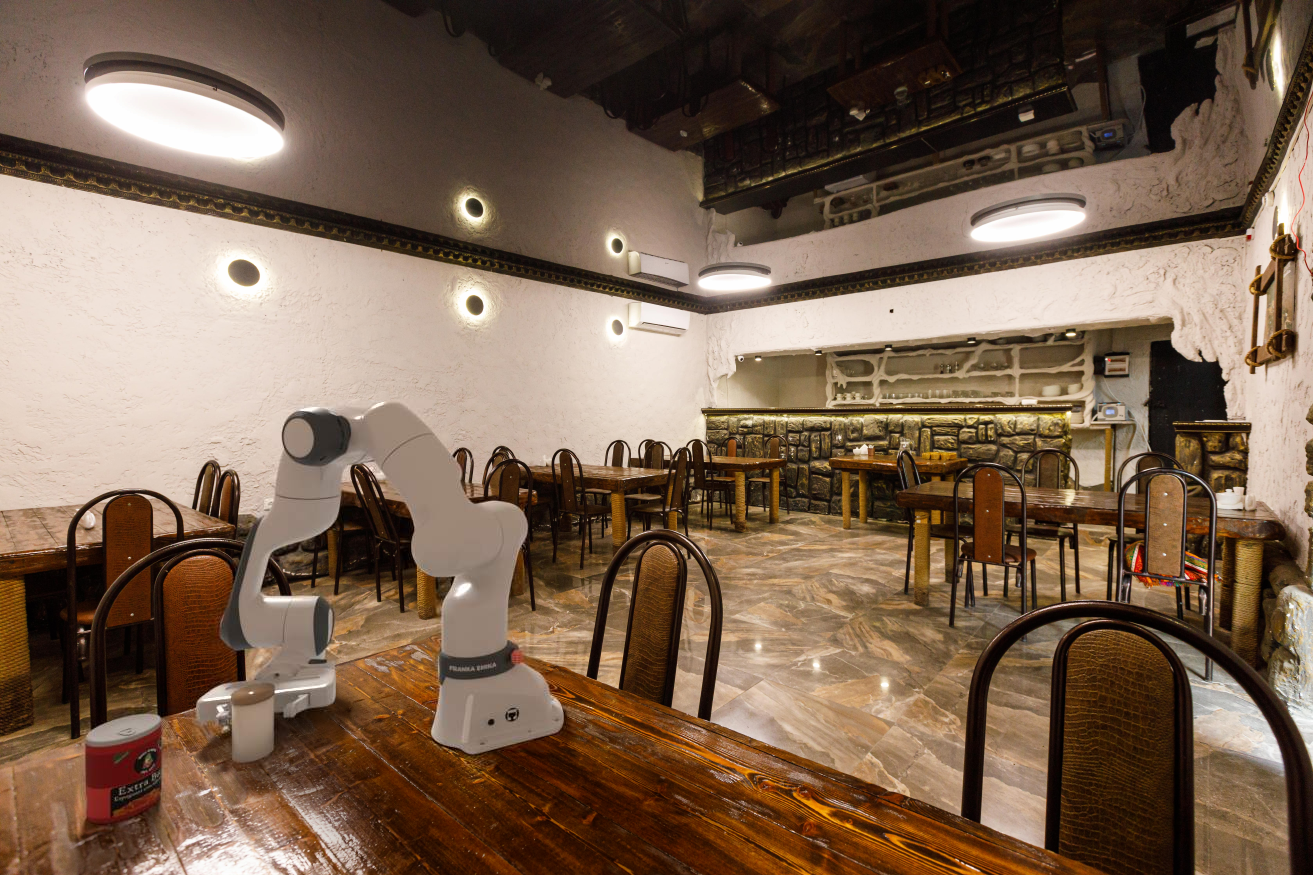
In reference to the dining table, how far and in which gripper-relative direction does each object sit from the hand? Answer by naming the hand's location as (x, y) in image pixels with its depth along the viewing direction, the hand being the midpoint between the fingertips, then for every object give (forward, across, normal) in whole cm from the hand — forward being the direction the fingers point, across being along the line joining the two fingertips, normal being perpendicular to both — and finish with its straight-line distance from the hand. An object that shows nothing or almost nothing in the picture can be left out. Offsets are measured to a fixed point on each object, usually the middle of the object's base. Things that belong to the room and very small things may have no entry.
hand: (254, 717), depth 92 cm
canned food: (+10, -12, +6) cm, 17 cm away
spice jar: (0, 0, +6) cm, 6 cm away
